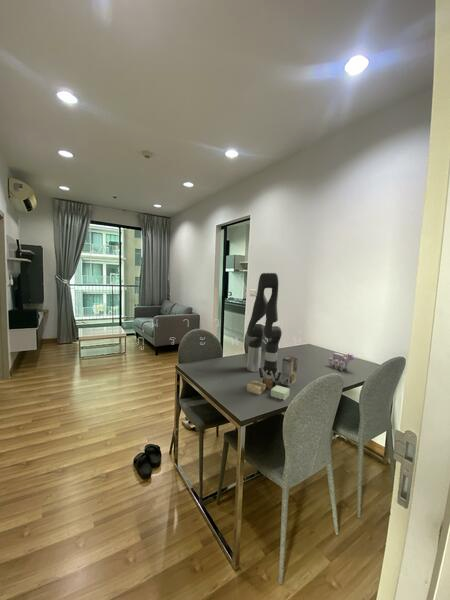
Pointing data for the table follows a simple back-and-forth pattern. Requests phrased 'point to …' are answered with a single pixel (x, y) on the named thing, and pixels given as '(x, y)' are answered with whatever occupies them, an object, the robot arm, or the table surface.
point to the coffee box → (289, 370)
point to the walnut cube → (268, 382)
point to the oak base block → (256, 387)
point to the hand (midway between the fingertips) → (268, 385)
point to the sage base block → (280, 392)
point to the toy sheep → (341, 359)
